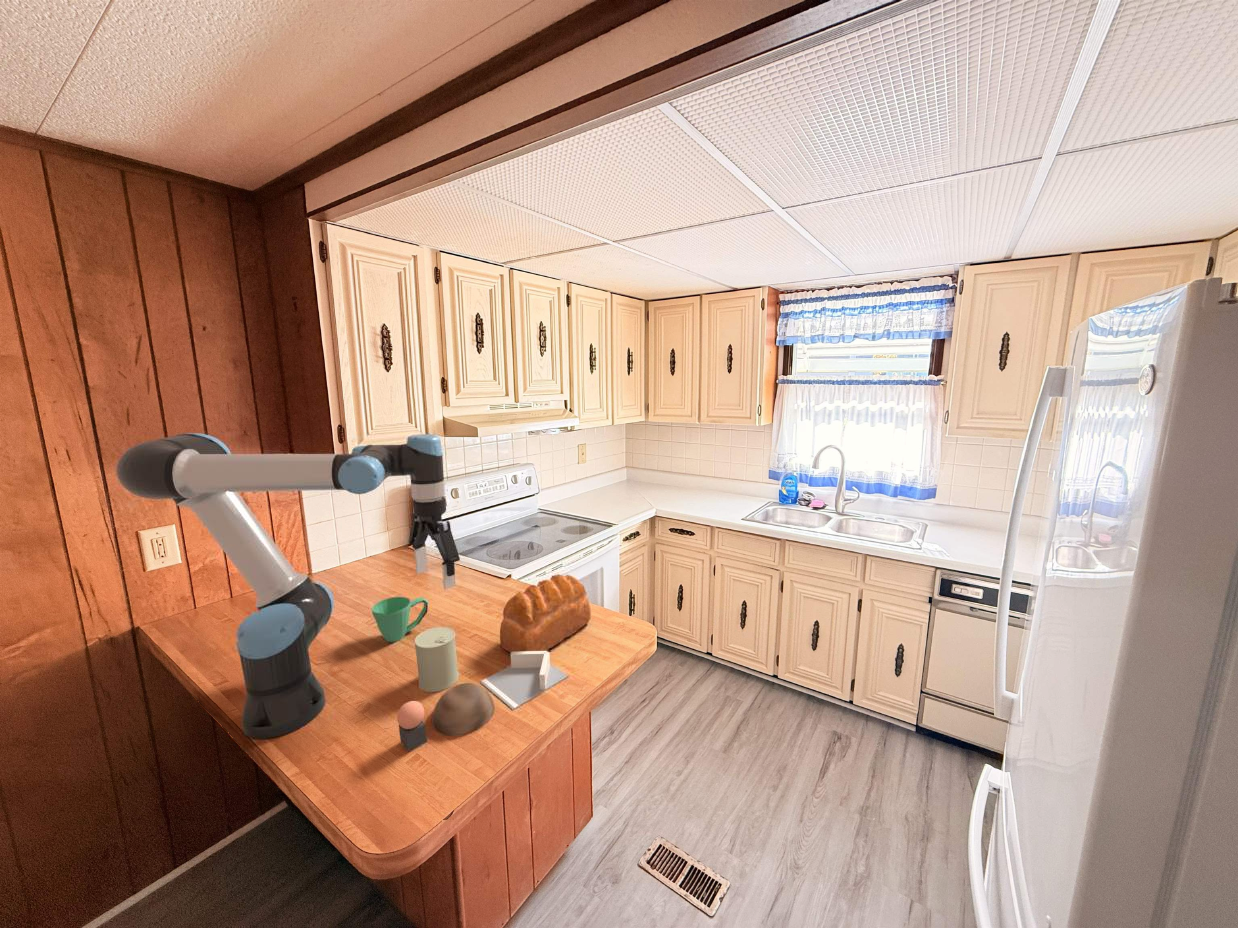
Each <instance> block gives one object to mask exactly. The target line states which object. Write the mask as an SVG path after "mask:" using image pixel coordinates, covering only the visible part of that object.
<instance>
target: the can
mask: <svg viewBox="0 0 1238 928" xmlns="http://www.w3.org/2000/svg"><path fill="white" fill-rule="evenodd" d="M413 642H414V647H415V648H414V649H415V655H416V663H417V664H416V665H417V674H418V687H419V688H420V689H421V691H423V692H426V693H436V692H442V691H444V690H448V689H450V688H452V687H453V686H454V685H455V684H456V683H457V682H458V680H459V678H460V677H459V676H460V673H459V669H458V657H457V650H456V648H457V647H456V632H455V630H454V629H453V628H450V627H447V626H436V627H432V628H429V629H426V630H424V631H421V633H418V635H417V636H416V637H415V638H414V641H413Z"/></svg>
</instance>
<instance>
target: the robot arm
mask: <svg viewBox="0 0 1238 928" xmlns="http://www.w3.org/2000/svg"><path fill="white" fill-rule="evenodd" d="M443 460H444V459H443V451H442V441H441V438H440V437H439V435H436V434H431V433H429V434H427V433H425V434H413V435H409V436H408V437H407V440H406V443H403V444H366V445H357V446H355V447H353V448H352V451H351V453H340V454H339V453H286V454H285V453H279V454H278V453H267V454H266V453H261V454H260V453H259V454H258V453H254V454H253V453H252V454H251V453H240V454H239V453H235V454H234V453H231V451H230V449H229V447H228V446H227V445H226V444H225V443H224V442H222V441H221V440H220V439H218V438H216V437H214V436H211V435H208V434H205V433H198V432H196V433H194V432H193V433H189V432H188V433H179V434H176V435H172V436H167V437H163V438H162V437H161V438H159V439H153V440H148V441H144V442H139V443H136V444H135V445H132V446H131V447H129V448H128V449H126V450H125V451H124V452H123V453H122V454H121V456H120V458H119V459H118V461H117V463H116V468H115V469H116V471H115V472H116V477H117V479H118V481H119V483H120V484H121V486H122V487H123V488H124V489H125V490H127V491H128V492H129V493H132V494H133V495H135V496H137V497H140V498H144V499H150V500H168V499H169V500H171V499H172V500H173V501H174V503H175V504H176V505H177V506H179V507H182V508H183V507H184V508H188V509H191V510H192V512H193V513H194V514H195V516H196V517H197V518H198V520H199V521H200V522H201V524H202V525H203V526H204V528H205V529H206V530H207V532H209V534H210V535H211V536H212V537H213V539H214V540H215V542H216V543H217V544H218V546H219V547H220V548H221V550H222V551H223V552H224V553H225V555H226V556H227V558H228V559H229V560H230V562H231V563H232V564H233V565H234V567H235V568H236V569H237V570H238V571H239V573H240V574H241V576H242V577H243V578H244V579H245V580H246V582H247V583H248V584H249V586H250V588H251V589H252V590H253V591H254V593H255V594H256V595H257V598H256V602H255V604H254V605H255V607H256V608H257V610H258V611H254V612H253V613H250V615H248V616H247V617H245V618H244V619H243V620H242V621H241V623H240V624H239V626H238V628H237V631H236V648H237V649H236V650H237V651H238V655H239V659H240V664H241V671H242V675H243V679H244V685H245V689H246V696H245V701H244V704H243V705H244V706H243V710H242V714H241V719H240V722H241V727H242V732H243V734H244V735H245V736H246V737H248V738H251V739H256V740H264V739H266V740H267V739H272V738H276V737H279V736H284V735H286V734H289V733H292V732H294V731H296V730H298V729H300V728H302V727H303V726H305V725H307V724H308V723H310V722H312V721H313V719H315V718H316V717H317V716H318V715H319V714H320V713H321V712H322V711H323V709H324V707H325V705H326V694H325V689H324V688H323V686H322V685H321V683H320V682H319V680H318V678H317V677H316V676H315V674H314V673H313V671H312V666H311V665H312V664H311V658H310V653H309V649H310V647H311V644H312V643H313V642H314V640H315V639H316V638H317V636H318V635H319V634H320V632H321V631H322V630H323V628H324V627H325V626H326V625H327V624H328V623H329V621H330V619H331V616H332V615H333V611H334V607H335V600H334V599H335V598H334V597H333V596H334V595H333V594H332V592H331V590H330V588H328V587H327V586H326V585H324V584H322V583H320V582H316V581H313V580H311V577H310V576H309V575H308V574H305V573H299V572H297V571H296V570H295V569H294V567H293V566H292V564H291V563H290V562H289V561H288V559H287V558H286V557H285V555H284V553H283V552H282V551H281V549H280V548H279V547H278V545H277V544H276V543H275V541H274V540H273V538H272V537H271V536H270V534H269V533H268V532H267V531H266V529H265V528H264V526H263V525H262V524H261V522H260V521H259V519H258V518H257V517H256V515H255V513H254V512H253V511H252V510H251V509H250V507H249V506H248V504H247V503H246V502H245V500H244V498H242V497H241V495H240V494H239V492H241V493H244V492H245V493H246V492H247V493H249V492H253V493H254V492H291V491H292V492H294V491H295V492H298V491H306V492H307V491H347V492H349V493H351V494H355V495H363V494H367V493H370V492H372V491H374V490H376V489H377V488H378V487H380V485H381V484H382V483H383V482H384V481H385V480H386V479H387V478H389V477H400V476H401V477H403V476H404V477H405V476H409V478H410V490H411V498H412V500H413V501H412V509H413V510H412V511H413V513H412V514H411V515H412V516H411V517H412V523H411V528H410V533H409V539H408V544H409V545H410V546H411V545H412V549H414V560H415V561H414V563H415V571H416V574H417V575H419V574H422V573H425V572H428V571H429V570H428V560H427V547H426V546H427V544H426V541H427V539H428V537H430V539H431V540H432V541H433V542H435V545H436V548H437V550H438V552H439V554H440V556H441V558H442V562H441V566H442V570H441V571H442V581H443V582H442V583H443V590H448V589H450V588H453V587H456V571H455V563H456V562H459V561H460V560H461V559H460V555H459V551H458V548H457V545H456V542H455V539H454V535H453V533H452V528H451V522H450V521H449V520H447V521H443V519H442V518H443V517H442V516H443V515H444V514H445V513H446V512H447V501H446V500H447V499H446V498H445V497H444V496H445V495H446V492H445V485H446V483H445V480H444V479H445V475H444V461H443Z"/></svg>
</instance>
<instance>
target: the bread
mask: <svg viewBox="0 0 1238 928" xmlns="http://www.w3.org/2000/svg"><path fill="white" fill-rule="evenodd" d="M587 595H588V594H587V591H586V588H585V585H584V584H583V583H581V581H579V579H577V578H576V577H574V576H573V575H570V574H566V575H562V574H559V573H558V574H554V575H552V576H551V577H550V579H543V580H542V581H538V583H537V585H535V584H531V585H529V586H528V587H527V588H526V589H525V590H524V591H523V592H521V591H520V592H518V593H516V594H515V595H513V596H512V597H510V598H509V599H508V600H507V602H506V604H505V606H504V608H503V612H502V615H503V619H502V621H501V622H500V629H499V641H500V643H499V644H500V647H501V648H503V649H504V650H506V651H508V652H510V653H511V652H519V651H547V652H548V651H549V649H551V648H553V647H555V646H556V645H557V644H559V643H561V642H563V640H564V639H566V638H568V637H570V636H572V635H573V634H575V633H576V632H578V631H579V630H580V629H581V628H582V627H584V626H585V625H587V624H588V623H589V622H590V620H591V617H592V616H591V615H592V614H591V613H592V612H591V607H590V601H589V598H588V597H587Z"/></svg>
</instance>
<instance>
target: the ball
mask: <svg viewBox="0 0 1238 928" xmlns="http://www.w3.org/2000/svg"><path fill="white" fill-rule="evenodd" d="M424 717H425V708H424V706H423V705H422V703H420V702H419V701H417V700H411V701H407V702H405V703H404V704H403V705H401V707H399V710H398V712H397V717H396V718H397V719H396V721H397V722H398V726H399V725H400V726H401V727H402V728H405V729H412V728H415V727H416V726H418V725H419V724H420V723H421V721H423V720H424Z"/></svg>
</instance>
